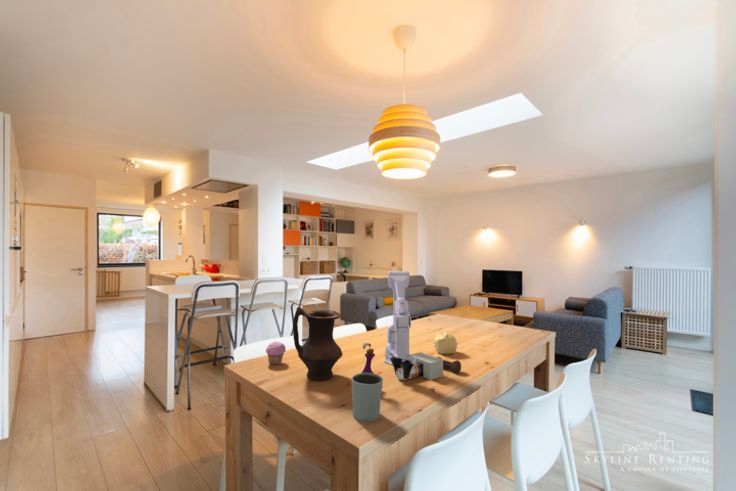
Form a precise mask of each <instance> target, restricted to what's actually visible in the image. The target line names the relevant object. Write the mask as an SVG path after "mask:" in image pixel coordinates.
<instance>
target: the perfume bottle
mask: <svg viewBox="0 0 736 491" xmlns="http://www.w3.org/2000/svg"><path fill="white" fill-rule="evenodd" d="M367 346H368V347H369V348H368V349H366V348H367ZM371 346H372V344H371V343H368V342H363V343H362V348H363V350H365V349H366V353H364V357H365V358H366V360H365V365H364V368H363V370H362V371H361V373H373V374H375V373H374V371H372V370H373V369H372V367H371V366H372V359H374V357H375V356H376V354H375V353H374V351H375V349H373V348H371Z"/></svg>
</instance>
